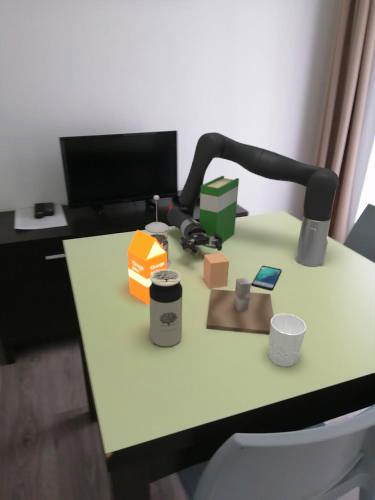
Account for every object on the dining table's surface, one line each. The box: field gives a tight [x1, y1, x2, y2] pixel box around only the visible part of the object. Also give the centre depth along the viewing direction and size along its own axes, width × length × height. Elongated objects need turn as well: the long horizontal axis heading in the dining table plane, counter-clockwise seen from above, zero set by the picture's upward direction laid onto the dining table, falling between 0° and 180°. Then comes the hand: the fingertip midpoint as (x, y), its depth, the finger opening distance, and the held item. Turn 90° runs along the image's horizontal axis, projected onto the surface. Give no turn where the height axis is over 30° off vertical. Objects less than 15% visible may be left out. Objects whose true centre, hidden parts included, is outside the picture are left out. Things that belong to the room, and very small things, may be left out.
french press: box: [144, 194, 172, 268], centre depth 124 cm, size 10×12×25 cm
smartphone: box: [251, 265, 283, 292], centre depth 121 cm, size 7×1×15 cm
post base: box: [206, 277, 274, 335], centre depth 101 cm, size 18×18×10 cm
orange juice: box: [126, 229, 168, 306], centre depth 106 cm, size 8×9×20 cm
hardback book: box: [198, 175, 240, 250], centre depth 143 cm, size 18×7×24 cm, turn 149°
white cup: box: [267, 313, 307, 368], centre depth 85 cm, size 8×8×10 cm
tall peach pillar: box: [202, 252, 230, 289], centre depth 116 cm, size 6×6×9 cm
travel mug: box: [149, 268, 183, 347], centre depth 89 cm, size 8×8×18 cm
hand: (208, 249), depth 121 cm, fingers open, 8 cm apart
